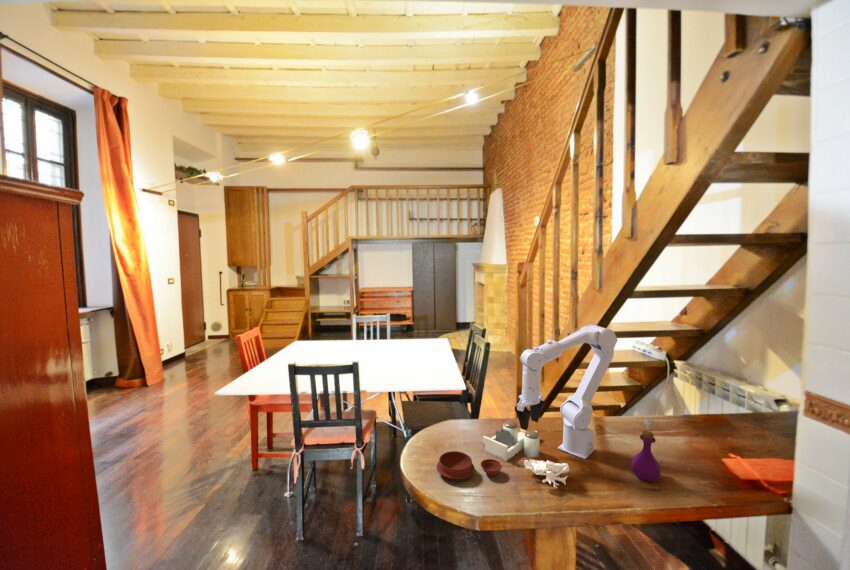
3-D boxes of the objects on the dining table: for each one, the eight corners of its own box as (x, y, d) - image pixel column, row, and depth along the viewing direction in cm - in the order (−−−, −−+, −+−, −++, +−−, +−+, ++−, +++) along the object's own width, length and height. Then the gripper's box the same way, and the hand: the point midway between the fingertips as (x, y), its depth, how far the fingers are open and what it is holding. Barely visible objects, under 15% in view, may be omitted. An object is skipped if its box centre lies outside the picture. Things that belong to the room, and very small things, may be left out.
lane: (537, 438, 134) (537, 425, 134) (505, 461, 119) (506, 447, 119) (515, 430, 140) (515, 417, 140) (482, 450, 126) (482, 436, 125)
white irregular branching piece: (578, 466, 107) (546, 467, 102) (577, 491, 106) (545, 493, 101) (548, 453, 118) (519, 453, 113) (547, 475, 117) (517, 476, 112)
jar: (541, 453, 124) (542, 433, 124) (534, 459, 121) (535, 439, 120) (528, 447, 128) (528, 428, 127) (520, 453, 124) (521, 433, 124)
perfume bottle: (659, 487, 106) (663, 428, 105) (630, 479, 110) (633, 421, 109) (659, 474, 113) (663, 418, 111) (631, 466, 117) (634, 412, 115)
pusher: (513, 448, 125) (514, 432, 124) (512, 450, 124) (512, 433, 124) (497, 441, 130) (497, 426, 129) (495, 442, 129) (496, 427, 128)
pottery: (436, 462, 119) (436, 449, 119) (498, 463, 118) (498, 450, 118) (436, 485, 107) (436, 470, 107) (504, 486, 107) (505, 472, 106)
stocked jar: (520, 442, 129) (520, 423, 129) (512, 448, 126) (513, 428, 125) (508, 437, 133) (508, 419, 132) (500, 442, 129) (500, 423, 129)
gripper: (530, 377, 130) (528, 414, 131) (509, 388, 120) (507, 428, 121) (549, 382, 125) (547, 420, 127) (529, 394, 115) (527, 435, 116)
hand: (529, 424), depth 123 cm, fingers open, 7 cm apart
